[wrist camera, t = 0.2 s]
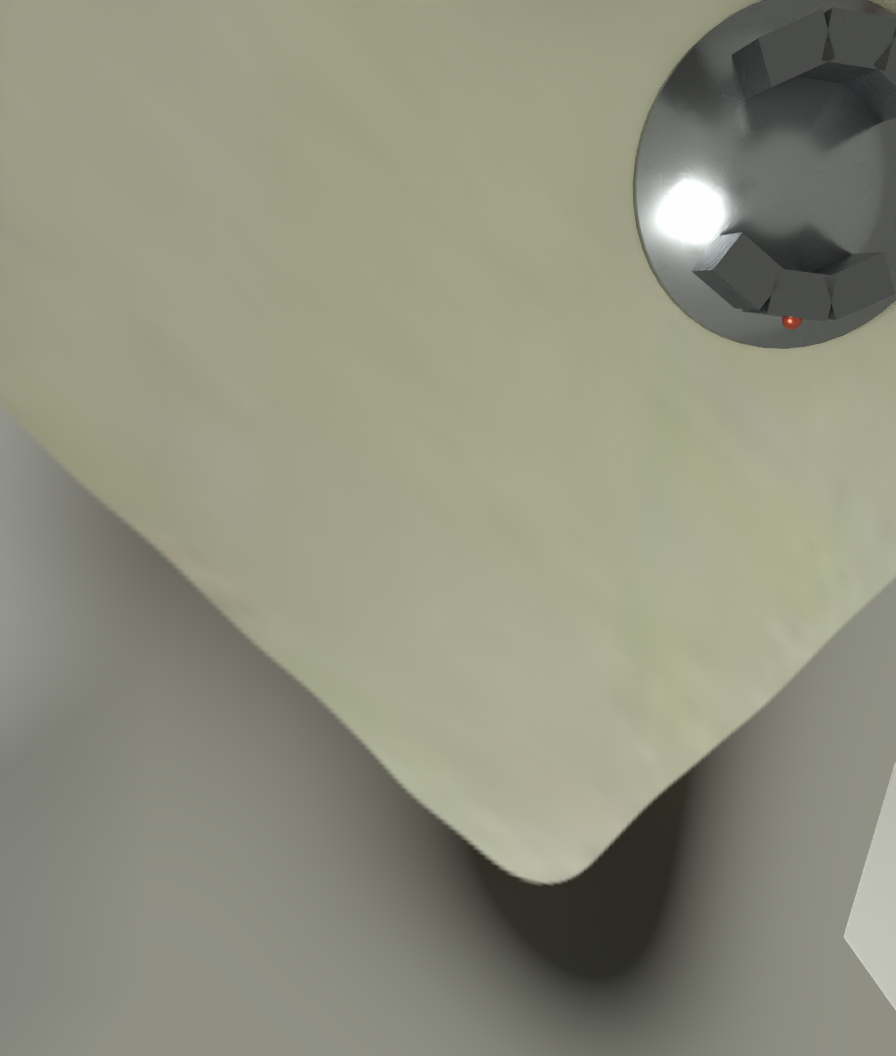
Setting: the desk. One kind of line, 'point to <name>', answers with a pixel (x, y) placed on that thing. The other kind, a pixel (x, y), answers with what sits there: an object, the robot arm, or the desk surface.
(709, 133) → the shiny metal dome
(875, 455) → the desk surface
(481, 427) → the desk surface
